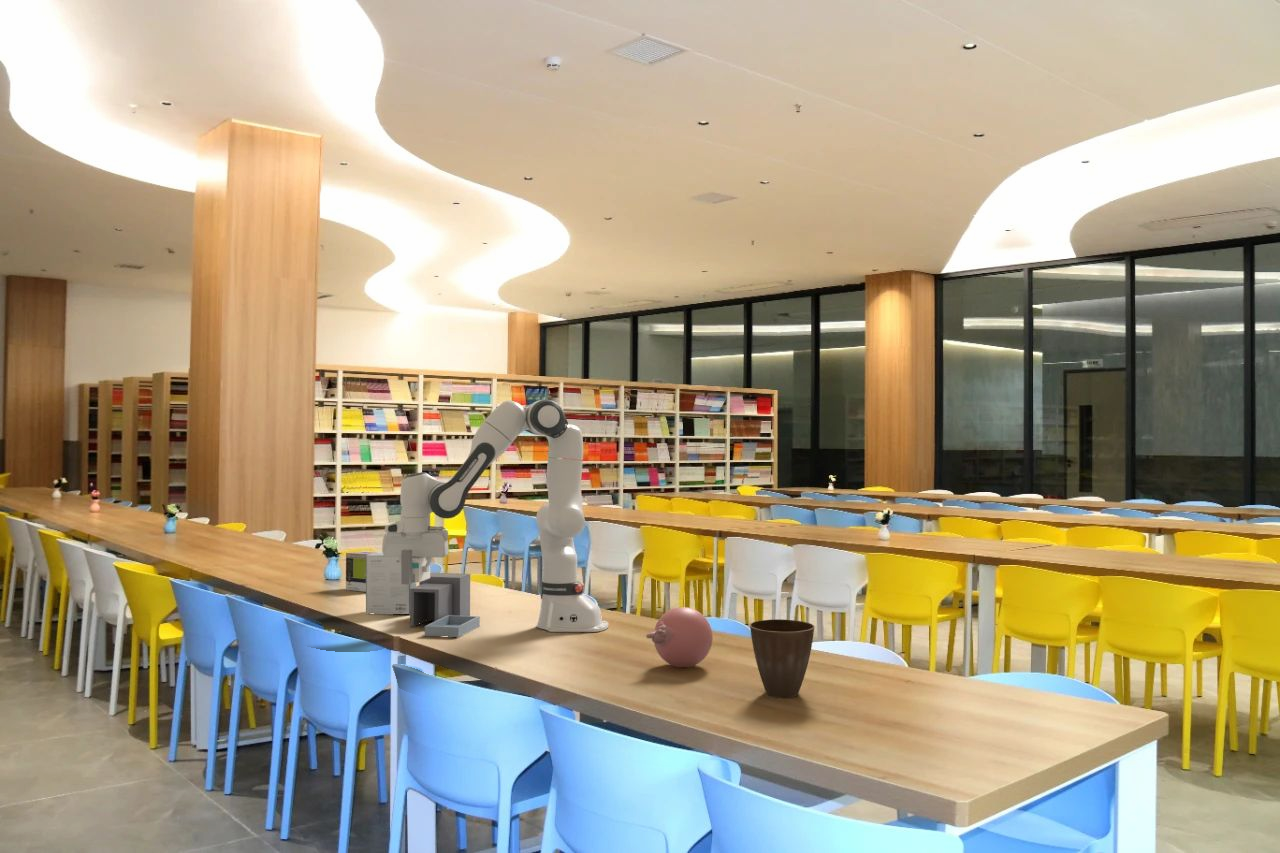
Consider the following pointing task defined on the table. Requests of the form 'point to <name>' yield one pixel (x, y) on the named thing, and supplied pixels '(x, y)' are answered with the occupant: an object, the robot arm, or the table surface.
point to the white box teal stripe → (412, 568)
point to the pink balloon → (682, 637)
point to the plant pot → (782, 654)
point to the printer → (440, 597)
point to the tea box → (356, 570)
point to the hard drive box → (386, 586)
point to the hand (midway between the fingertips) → (415, 571)
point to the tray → (452, 626)
